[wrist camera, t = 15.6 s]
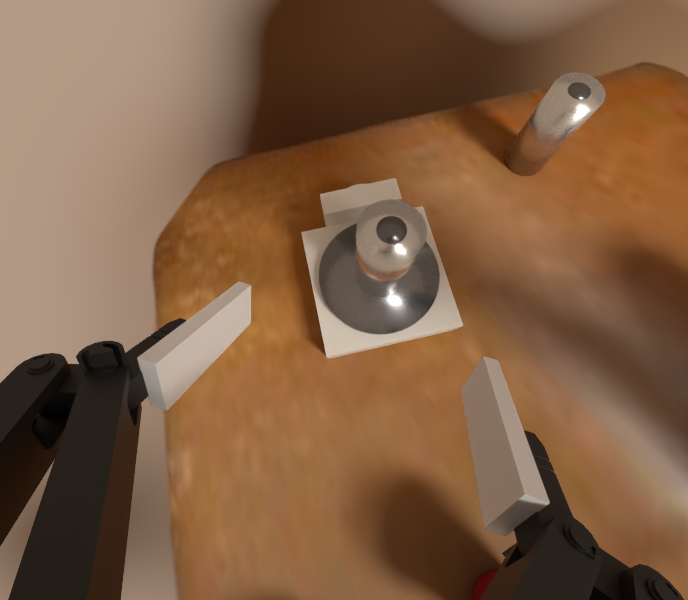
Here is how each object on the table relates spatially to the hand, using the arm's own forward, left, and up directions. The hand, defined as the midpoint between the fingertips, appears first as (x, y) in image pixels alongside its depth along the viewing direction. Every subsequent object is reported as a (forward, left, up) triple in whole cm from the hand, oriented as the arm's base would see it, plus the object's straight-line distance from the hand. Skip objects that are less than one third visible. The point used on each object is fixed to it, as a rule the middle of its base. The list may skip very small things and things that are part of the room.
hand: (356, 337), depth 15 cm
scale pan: (-5, -9, -18) cm, 21 cm away
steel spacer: (-33, -24, -22) cm, 46 cm away
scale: (-5, -11, -22) cm, 25 cm away
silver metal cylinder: (-5, -9, -17) cm, 20 cm away
